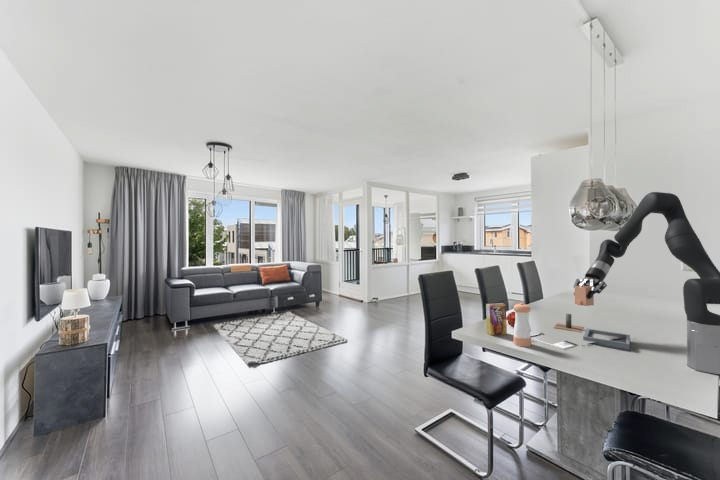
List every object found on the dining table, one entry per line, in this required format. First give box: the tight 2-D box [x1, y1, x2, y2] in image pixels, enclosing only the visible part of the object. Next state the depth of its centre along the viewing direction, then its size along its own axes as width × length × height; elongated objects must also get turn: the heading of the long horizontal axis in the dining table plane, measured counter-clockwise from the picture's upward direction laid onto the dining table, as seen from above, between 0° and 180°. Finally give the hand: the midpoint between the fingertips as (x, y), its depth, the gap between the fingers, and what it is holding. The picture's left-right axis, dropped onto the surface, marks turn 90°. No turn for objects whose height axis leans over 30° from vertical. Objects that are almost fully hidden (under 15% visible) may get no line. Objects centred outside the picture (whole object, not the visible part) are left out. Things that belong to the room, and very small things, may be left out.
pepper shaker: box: [512, 302, 532, 348], centre depth 140 cm, size 7×7×19 cm
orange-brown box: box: [574, 285, 595, 307], centre depth 150 cm, size 5×7×9 cm
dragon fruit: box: [506, 311, 515, 327], centre depth 168 cm, size 8×8×12 cm
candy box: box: [485, 302, 508, 336], centre depth 156 cm, size 9×4×15 cm, turn 96°
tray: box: [582, 328, 631, 352], centre depth 141 cm, size 16×16×3 cm
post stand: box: [553, 313, 585, 334], centre depth 159 cm, size 12×12×8 cm
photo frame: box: [530, 332, 579, 350], centre depth 144 cm, size 15×1×18 cm
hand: (581, 296), depth 150 cm, fingers closed on orange-brown box, 5 cm apart
